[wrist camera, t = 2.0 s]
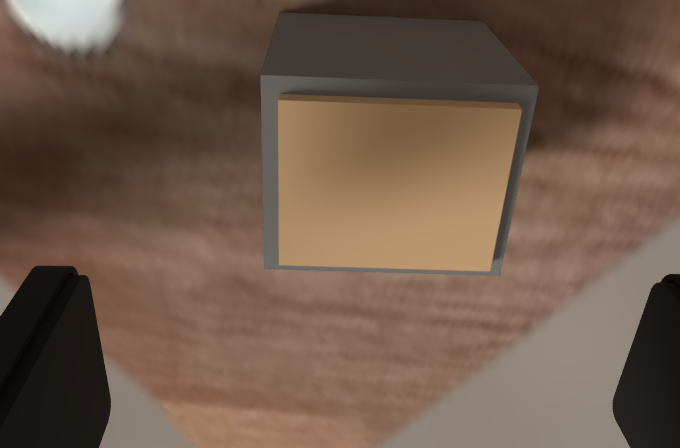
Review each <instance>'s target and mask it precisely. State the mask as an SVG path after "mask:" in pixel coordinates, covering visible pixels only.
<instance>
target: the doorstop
mask: <svg viewBox="0 0 680 448" xmlns="http://www.w3.org/2000/svg"><path fill="white" fill-rule="evenodd" d="M260 76H261V130H262V185H263V239H264V269H284V270H318V271H352V272H386V273H420V274H454V275H489V276H500V272H501V267H502V262H503V257H504V253H505V248H506V243H507V238H508V233H509V229H510V224H511V219H512V214H513V209H514V205H515V200H516V195H517V190H518V185H519V181H520V176H521V171H522V166H523V161H524V157H525V152H526V147H527V142H528V138H529V133H530V128H531V123H532V118H533V114H534V109H535V104H536V99H537V94H538V90H539V85H538V84H537V83H536V82H535V81H534V79H533V78H532V77H531V76H530V75H529V74H528V72H527V71H526V70H525V69H524V68H523V67H522V66H521V64H520V63H519V62H518V61H517V60H516V59H515V58H514V56H513V55H512V54H511V53H510V52H509V51H508V49H507V48H506V47H505V46H504V45H503V44H502V43H501V41H500V40H499V39H498V38H497V37H496V36H495V34H494V33H493V32H492V31H491V30H490V29H489V28H488V26H487V25H486V24H485V23H484V22H483V21H471V20H447V19H424V18H401V17H378V16H355V15H331V14H308V13H285V12H279V15H278V19H277V22H276V25H275V29H274V32H273V35H272V39H271V42H270V45H269V48H268V52H267V55H266V58H265V62H264V65H263V68H262V72H261V75H260Z"/></svg>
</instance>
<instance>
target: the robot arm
mask: <svg viewBox="0 0 680 448" xmlns="http://www.w3.org/2000/svg"><path fill="white" fill-rule="evenodd" d="M110 409H111V398H110V393H109V387H108V381H107V375H106V370H105V364H104V359H103V353H102V348H101V342H100V336H99V331H98V325H97V320H96V314H95V309H94V303H93V298H92V292H91V286H90V282H89V279H88V277H87V276H85V275H78V272H77V270H76V269H75V268H74V267H73V266H35V267H34V268H33V269H32V270H31V271H30V273H29V274H28V276H27V277H26V279H25V280H24V282H23V283H22V285H21V286H20V288H19V289H18V291H17V292H16V294H15V295H14V297H13V298H12V300H11V301H10V303H9V305H8V306H7V307H6V309H5V310H4V312H3V313H2V315H1V316H0V448H99V446H100V443H101V440H102V437H103V434H104V432H105V429H106V426H107V423H108V420H109V416H110ZM613 413H614V417H615V420H616V422H617V424H618V425H619V427H620V429H621V431H622V433H623V435H624V437H625V438H626V440H627V442H628V444H629V446H630V447H631V448H680V274H669V275H666V276H665V277H664V278H663V279H662V281H661V282H660V283H656V284H655V285H654V286H653V287H652V289H651V291H650V294H649V297H648V300H647V303H646V306H645V308H644V312H643V314H642V317H641V320H640V323H639V326H638V329H637V331H636V334H635V337H634V340H633V343H632V346H631V349H630V352H629V354H628V357H627V360H626V363H625V366H624V369H623V372H622V375H621V377H620V380H619V384H618V386H617V389H616V392H615V395H614V398H613Z"/></svg>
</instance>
